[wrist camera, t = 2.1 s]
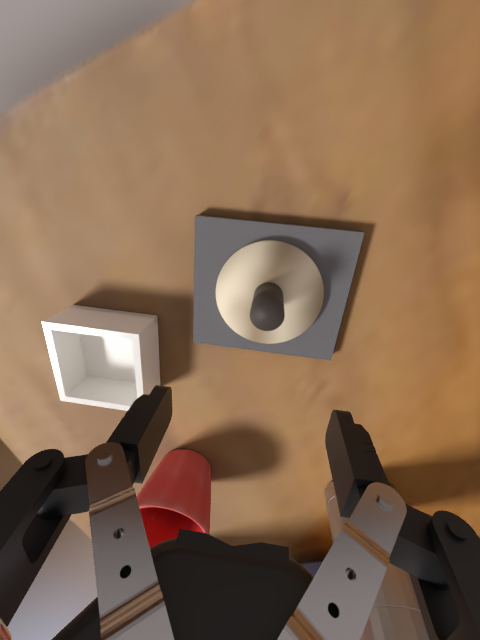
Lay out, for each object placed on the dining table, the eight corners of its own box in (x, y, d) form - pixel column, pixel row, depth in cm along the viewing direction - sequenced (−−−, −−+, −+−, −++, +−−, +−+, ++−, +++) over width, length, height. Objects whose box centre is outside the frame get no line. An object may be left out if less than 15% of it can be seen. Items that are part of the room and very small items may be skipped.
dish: (157, 315, 33) (138, 334, 28) (160, 387, 37) (144, 413, 33) (73, 304, 34) (41, 321, 29) (85, 376, 38) (60, 400, 34)
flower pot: (174, 428, 40) (146, 493, 32) (234, 465, 42) (224, 537, 33) (141, 465, 45) (109, 532, 36) (197, 497, 46) (180, 568, 38)
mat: (360, 231, 27) (364, 232, 26) (329, 354, 33) (331, 360, 31) (198, 214, 28) (195, 215, 27) (195, 337, 34) (193, 342, 33)
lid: (333, 246, 26) (347, 258, 21) (311, 346, 31) (319, 376, 26) (219, 234, 27) (206, 243, 22) (214, 333, 32) (202, 361, 27)
